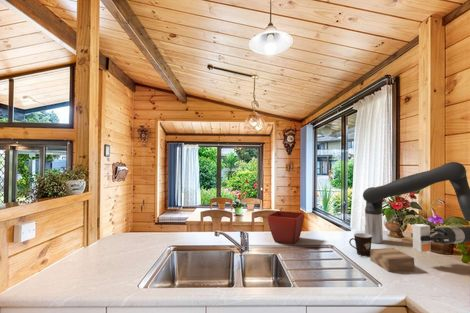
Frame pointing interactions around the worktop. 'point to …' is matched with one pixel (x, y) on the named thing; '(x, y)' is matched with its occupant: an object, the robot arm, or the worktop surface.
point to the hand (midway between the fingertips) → (416, 237)
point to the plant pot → (286, 226)
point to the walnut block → (392, 260)
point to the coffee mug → (362, 243)
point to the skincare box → (417, 233)
